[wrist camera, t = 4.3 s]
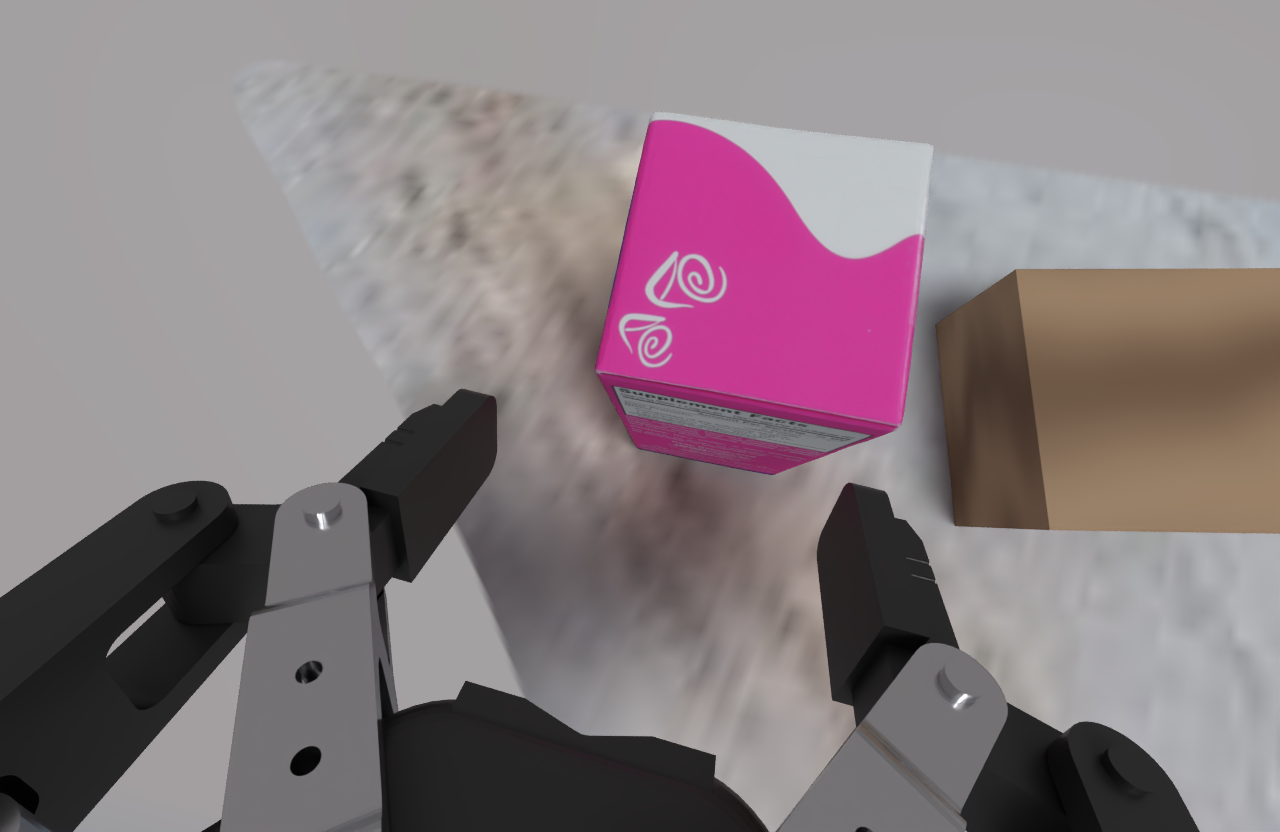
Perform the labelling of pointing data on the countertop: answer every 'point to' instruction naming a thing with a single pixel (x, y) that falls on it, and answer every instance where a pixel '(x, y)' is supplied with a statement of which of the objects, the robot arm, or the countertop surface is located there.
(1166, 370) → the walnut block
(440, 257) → the countertop surface
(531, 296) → the countertop surface
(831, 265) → the supplement box
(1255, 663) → the countertop surface
